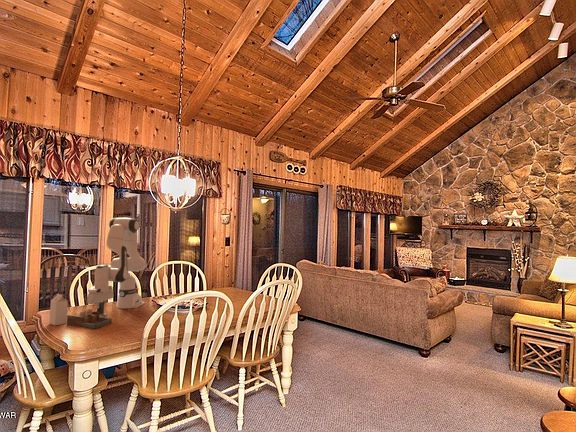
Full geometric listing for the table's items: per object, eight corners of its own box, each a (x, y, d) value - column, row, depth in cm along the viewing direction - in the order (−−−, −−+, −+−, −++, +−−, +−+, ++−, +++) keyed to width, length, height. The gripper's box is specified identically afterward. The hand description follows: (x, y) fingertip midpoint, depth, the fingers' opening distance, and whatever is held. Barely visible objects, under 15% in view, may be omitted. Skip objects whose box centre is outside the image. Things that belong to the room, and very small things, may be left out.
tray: (98, 321, 233) (99, 317, 233) (111, 323, 231) (111, 318, 231) (81, 327, 220) (82, 322, 220) (94, 329, 217) (95, 324, 217)
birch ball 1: (82, 316, 228) (83, 309, 228) (87, 316, 227) (88, 310, 227) (77, 317, 224) (78, 311, 224) (82, 318, 223) (83, 312, 223)
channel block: (84, 319, 236) (84, 310, 236) (98, 321, 233) (99, 311, 233) (66, 325, 223) (67, 315, 223) (81, 327, 220) (82, 317, 220)
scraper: (92, 316, 241) (93, 301, 241) (96, 314, 244) (96, 300, 243) (104, 317, 238) (104, 303, 238) (107, 316, 241) (108, 302, 241)
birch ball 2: (89, 314, 232) (89, 308, 232) (93, 314, 231) (94, 308, 231) (84, 315, 228) (84, 309, 229) (89, 316, 227) (89, 310, 228)
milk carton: (61, 321, 230) (62, 292, 231) (66, 323, 227) (68, 294, 227) (49, 323, 224) (50, 294, 225) (54, 325, 221) (56, 296, 221)
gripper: (108, 284, 252) (107, 303, 252) (85, 290, 232) (85, 310, 232) (116, 285, 250) (115, 304, 250) (93, 291, 230) (92, 311, 230)
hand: (100, 307), depth 241 cm, fingers closed on scraper, 3 cm apart
